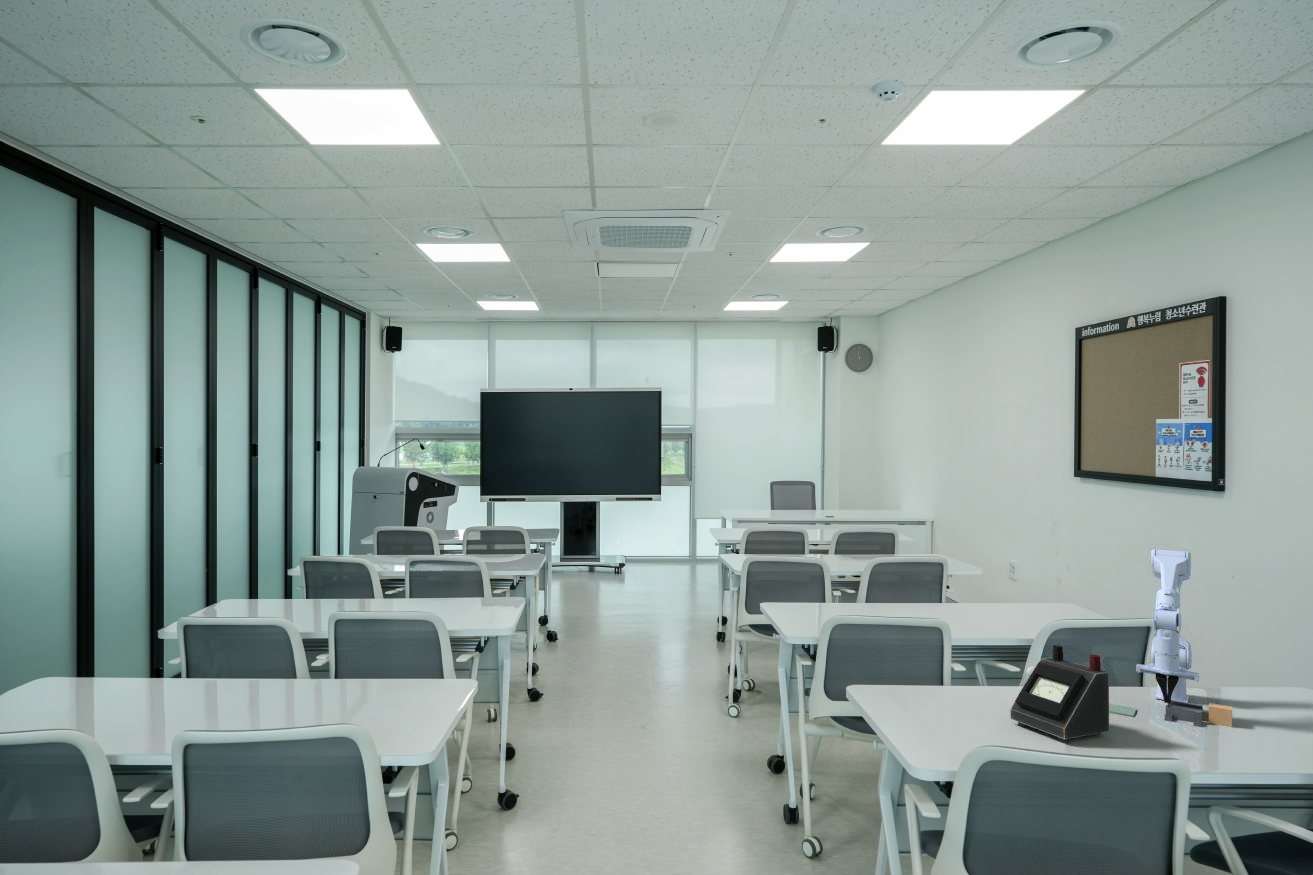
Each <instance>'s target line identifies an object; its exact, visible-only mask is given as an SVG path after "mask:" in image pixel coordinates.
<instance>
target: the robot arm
mask: <svg viewBox="0 0 1313 875" xmlns="http://www.w3.org/2000/svg"><path fill="white" fill-rule="evenodd" d="M1150 561H1151V562H1150V564H1151V568H1152V569H1151V570H1152V573H1153V576H1154V577H1156V578H1157V579H1160V581H1161V583H1160V585H1161V588H1160V589H1159V590H1157V591H1156V596H1155V607H1154V608H1155V609H1154V610H1153V611H1152V617H1151V618H1152V619H1151V620H1152V621H1151V622H1152V627H1153V636H1154V638H1153V639H1152V640H1151V642H1152V643H1151V648H1150V649H1151V652H1150V655H1151V656H1150V658H1151V663H1152V664H1153V665H1150V664H1140V663H1137V664H1136V665H1135V666H1136V668H1135V672H1136V673H1144V674H1145V673H1146V674H1151V675H1155V681H1156V686H1157V687H1156V691H1155V695H1154V699H1156V700H1162V701H1163V703H1164V704H1165V703H1166V704H1168V703H1171V700H1176V701H1182V702H1188V703H1189V698H1190V695H1189V694H1187V680H1189V681H1190V680H1191V681H1195V682H1200V672H1194V671H1190V669H1192V665H1193V664H1192V657H1193V656H1192V645H1191V644H1190V642H1189V641H1188V640H1187V639H1185V638H1184V637H1182V636H1181V630H1182V615H1181V587H1182V585H1183V582H1185V581H1188V580H1190V577H1191V571H1192V570H1191V569H1192V555H1191V552H1190V551H1189V550H1186V551H1184V550H1170V549H1157V548H1153V549H1152V550H1151V553H1150Z"/></svg>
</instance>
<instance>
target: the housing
mask: <svg viewBox="0 0 1313 875" xmlns="http://www.w3.org/2000/svg"><path fill="white" fill-rule="evenodd" d="M1174 705H1178V706H1184V707H1189V708H1195V709H1201V710H1204V708H1203V707H1204V705H1203V704H1198V703H1193V702H1189V701H1188V702H1182V701H1176V700H1171V703H1167V704H1166V705H1165V714H1164V721H1167V722H1173V720H1179V721H1184V722H1190V723H1193V726H1195V727H1199V728H1201V727H1202V725H1203V724H1202V723H1203V721H1202V711H1198V710H1192V709H1187V708H1181V707H1175V706H1174Z"/></svg>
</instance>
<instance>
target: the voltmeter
mask: <svg viewBox="0 0 1313 875" xmlns="http://www.w3.org/2000/svg"><path fill="white" fill-rule="evenodd" d="M1063 651H1064V647H1063V645H1060V644H1058V645H1057V644H1053V646H1052V657H1044V658H1040V659H1039V661H1038V662H1037V664H1036V665H1035V669H1034V670H1033V672H1032V674H1031V675H1030V677H1028V678H1027V680H1026V681H1025V684H1024V685H1023V687H1022V688H1021V689H1020V691H1019V694H1018V695H1017V697H1016V699H1015V700H1014V702H1013V704H1012V706H1011V708H1010V709H1009V711H1010V714H1009V716H1010V717H1009V718H1010V719H1011V720H1013V721H1015V722H1017V724H1018V726H1019V727H1022V728H1027V727H1028V726H1029V727H1031V728H1034V729H1037V730H1039V731H1042V732H1044V733H1047V734H1050V735H1052V736H1055V737H1057V740H1058V741H1059V742H1060V743H1068V739H1073V738H1074V739H1075V738H1079V737H1085V736H1092V737H1101V734H1102V733H1108V732H1110V713H1109V704H1110V677H1109V676H1110V673H1109V671H1106V670H1102V668H1101V666H1102V664H1101V655H1099V654H1092V653H1091V654H1090V655H1089V661H1088V662H1089V666H1087V665H1084V664H1079V663H1076V662H1072V661H1069V660H1066V659H1064V652H1063Z"/></svg>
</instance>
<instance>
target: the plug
mask: <svg viewBox="0 0 1313 875" xmlns="http://www.w3.org/2000/svg"><path fill="white" fill-rule="evenodd" d="M1174 706H1175V707H1181V708H1187V709H1192V710H1198V711H1202V722H1207V723H1208V724H1210V725H1211V724H1212V725H1217V726H1218V725H1219V726H1222V727H1229V728H1233V706H1231V705H1225V704H1218V703H1214V702H1208V710H1206V709H1203V710H1201V709H1195V708H1189V707H1184V706H1178V705H1174Z"/></svg>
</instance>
